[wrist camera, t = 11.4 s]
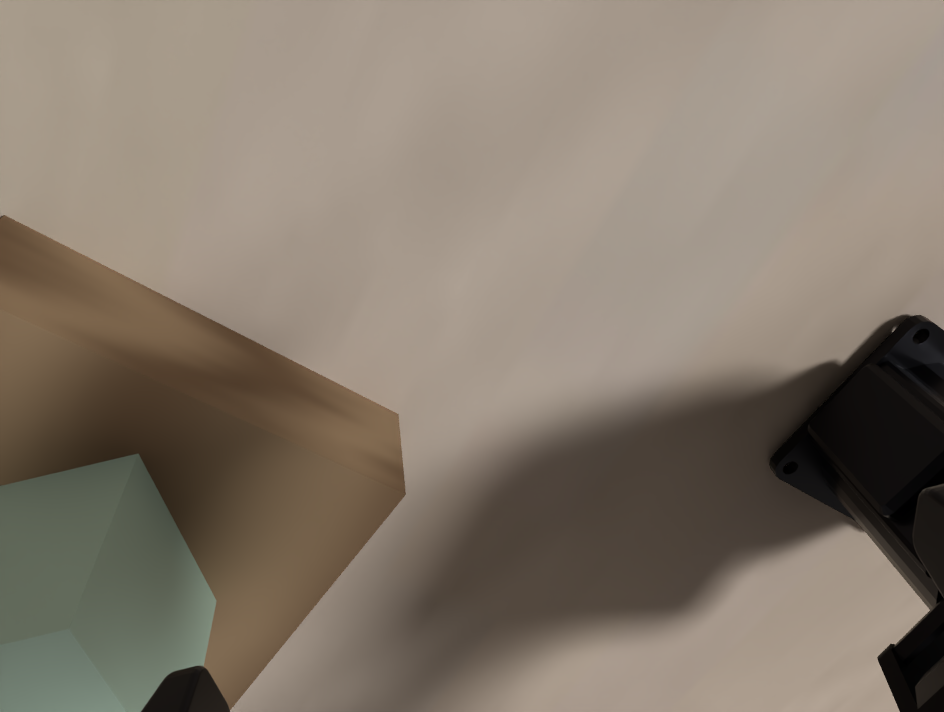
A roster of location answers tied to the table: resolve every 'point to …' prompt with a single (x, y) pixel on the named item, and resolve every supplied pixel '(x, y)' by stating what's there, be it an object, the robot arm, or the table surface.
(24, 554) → the sage block
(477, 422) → the table surface
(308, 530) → the walnut block
